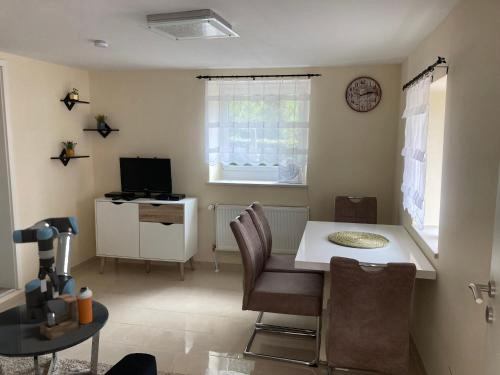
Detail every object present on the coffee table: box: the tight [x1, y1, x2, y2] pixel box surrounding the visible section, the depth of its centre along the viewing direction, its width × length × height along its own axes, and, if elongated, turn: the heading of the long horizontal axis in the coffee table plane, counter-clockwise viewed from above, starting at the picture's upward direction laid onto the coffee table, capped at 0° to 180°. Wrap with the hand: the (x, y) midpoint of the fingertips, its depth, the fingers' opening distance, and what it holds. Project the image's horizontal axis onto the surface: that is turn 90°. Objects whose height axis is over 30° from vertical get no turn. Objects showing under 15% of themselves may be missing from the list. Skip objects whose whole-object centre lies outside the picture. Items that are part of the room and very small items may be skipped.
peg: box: [47, 311, 56, 328], centre depth 226 cm, size 4×4×12 cm
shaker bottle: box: [75, 286, 93, 325], centre depth 239 cm, size 9×9×20 cm
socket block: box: [39, 293, 80, 341], centre depth 228 cm, size 12×16×18 cm
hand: (49, 294), depth 224 cm, fingers open, 13 cm apart
